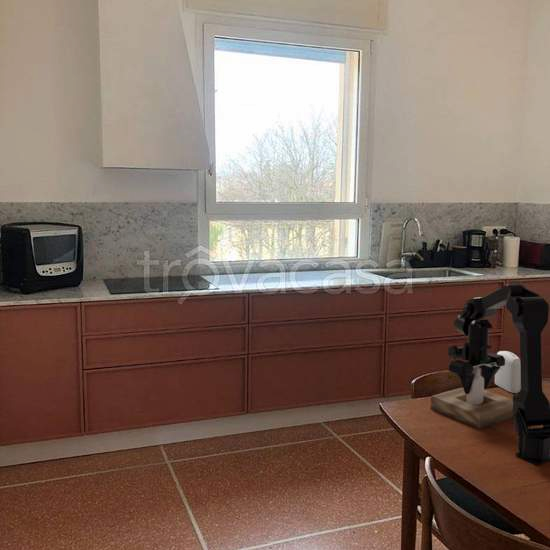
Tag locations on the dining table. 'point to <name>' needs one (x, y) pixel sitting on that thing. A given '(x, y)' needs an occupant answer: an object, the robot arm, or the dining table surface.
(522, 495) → the dining table surface
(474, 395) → the eye dropper bottle
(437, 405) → the socket block
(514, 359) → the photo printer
